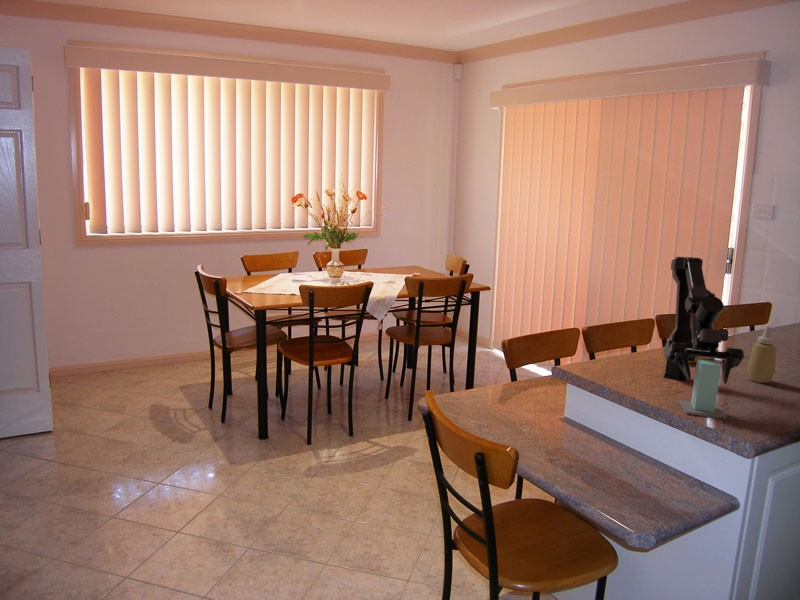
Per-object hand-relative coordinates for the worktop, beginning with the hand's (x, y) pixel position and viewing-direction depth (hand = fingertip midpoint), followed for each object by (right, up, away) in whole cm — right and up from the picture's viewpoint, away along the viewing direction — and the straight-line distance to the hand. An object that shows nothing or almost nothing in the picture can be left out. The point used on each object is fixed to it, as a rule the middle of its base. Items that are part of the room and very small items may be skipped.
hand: (707, 381), depth 181 cm
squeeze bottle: (+34, -5, +37) cm, 50 cm away
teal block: (0, -8, +3) cm, 8 cm away
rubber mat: (0, -8, +3) cm, 9 cm away
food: (+22, 0, +58) cm, 62 cm away
